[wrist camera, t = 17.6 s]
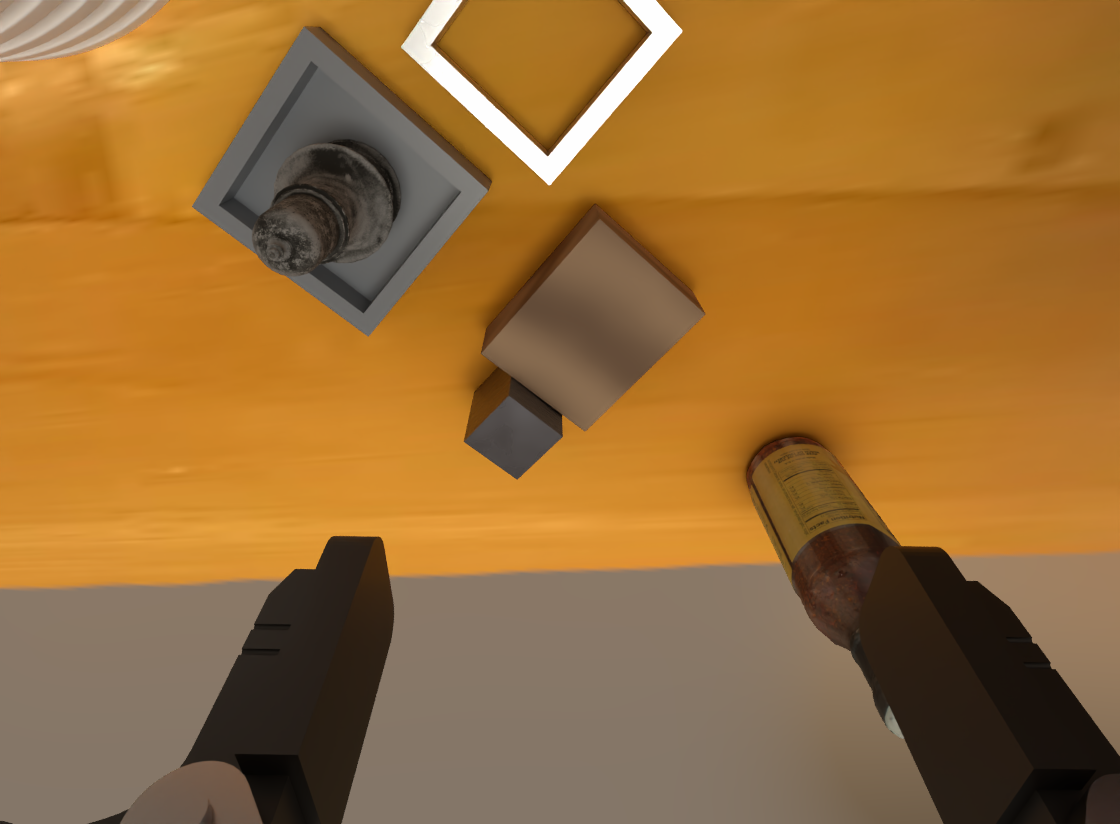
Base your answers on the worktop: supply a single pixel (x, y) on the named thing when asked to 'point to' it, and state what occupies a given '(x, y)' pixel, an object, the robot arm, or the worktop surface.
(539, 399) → the block
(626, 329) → the brown rectangular block
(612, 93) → the holder
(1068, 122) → the worktop surface
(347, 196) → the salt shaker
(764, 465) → the sauce bottle
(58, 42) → the plate stack
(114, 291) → the worktop surface
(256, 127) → the tray
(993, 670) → the robot arm
